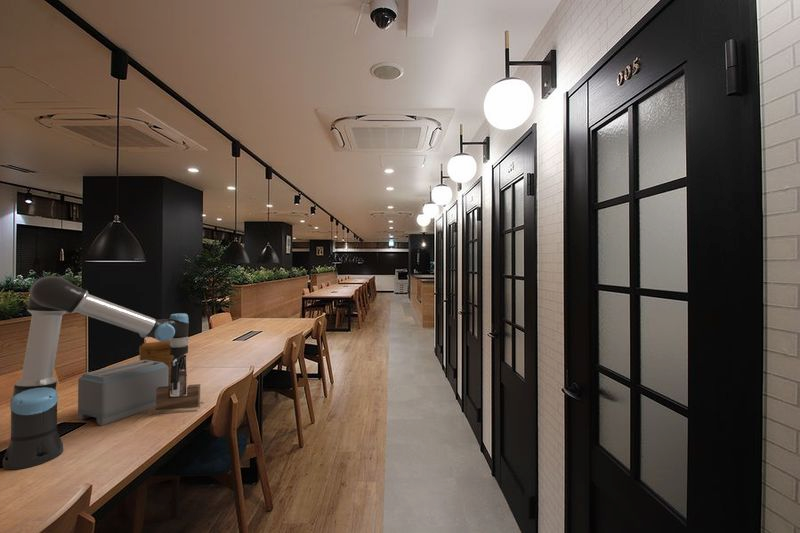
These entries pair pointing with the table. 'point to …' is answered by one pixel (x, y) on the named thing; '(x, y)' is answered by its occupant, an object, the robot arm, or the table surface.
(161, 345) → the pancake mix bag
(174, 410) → the wooden u-shaped block
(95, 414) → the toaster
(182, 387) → the box
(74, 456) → the table surface
